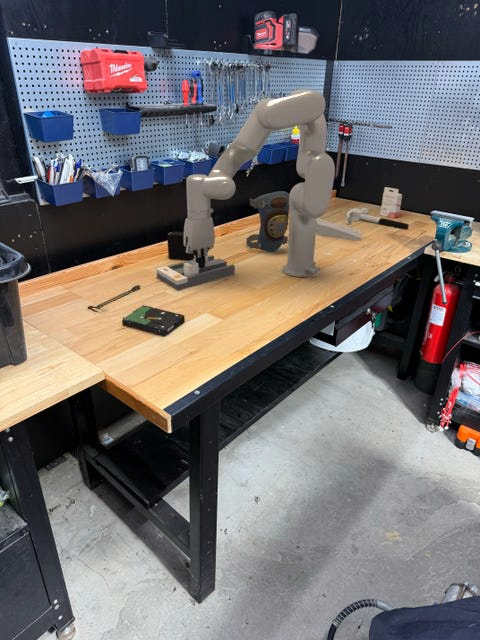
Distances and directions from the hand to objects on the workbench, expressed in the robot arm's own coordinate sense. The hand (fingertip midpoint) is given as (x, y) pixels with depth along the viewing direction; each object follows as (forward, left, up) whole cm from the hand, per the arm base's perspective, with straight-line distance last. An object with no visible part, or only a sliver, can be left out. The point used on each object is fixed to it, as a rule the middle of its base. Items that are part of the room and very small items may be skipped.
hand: (200, 266), depth 158 cm
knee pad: (+12, -42, -5) cm, 43 cm away
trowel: (+9, -81, -6) cm, 82 cm away
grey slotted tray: (+4, -1, -5) cm, 6 cm away
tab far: (+8, -6, -3) cm, 10 cm away
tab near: (0, +4, -3) cm, 5 cm away
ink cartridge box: (+14, -130, -5) cm, 130 cm away
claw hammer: (+8, -110, -6) cm, 111 cm away
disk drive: (-19, +29, -6) cm, 35 cm away
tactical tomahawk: (+2, +30, -6) cm, 30 cm away
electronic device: (+23, -7, -5) cm, 24 cm away
